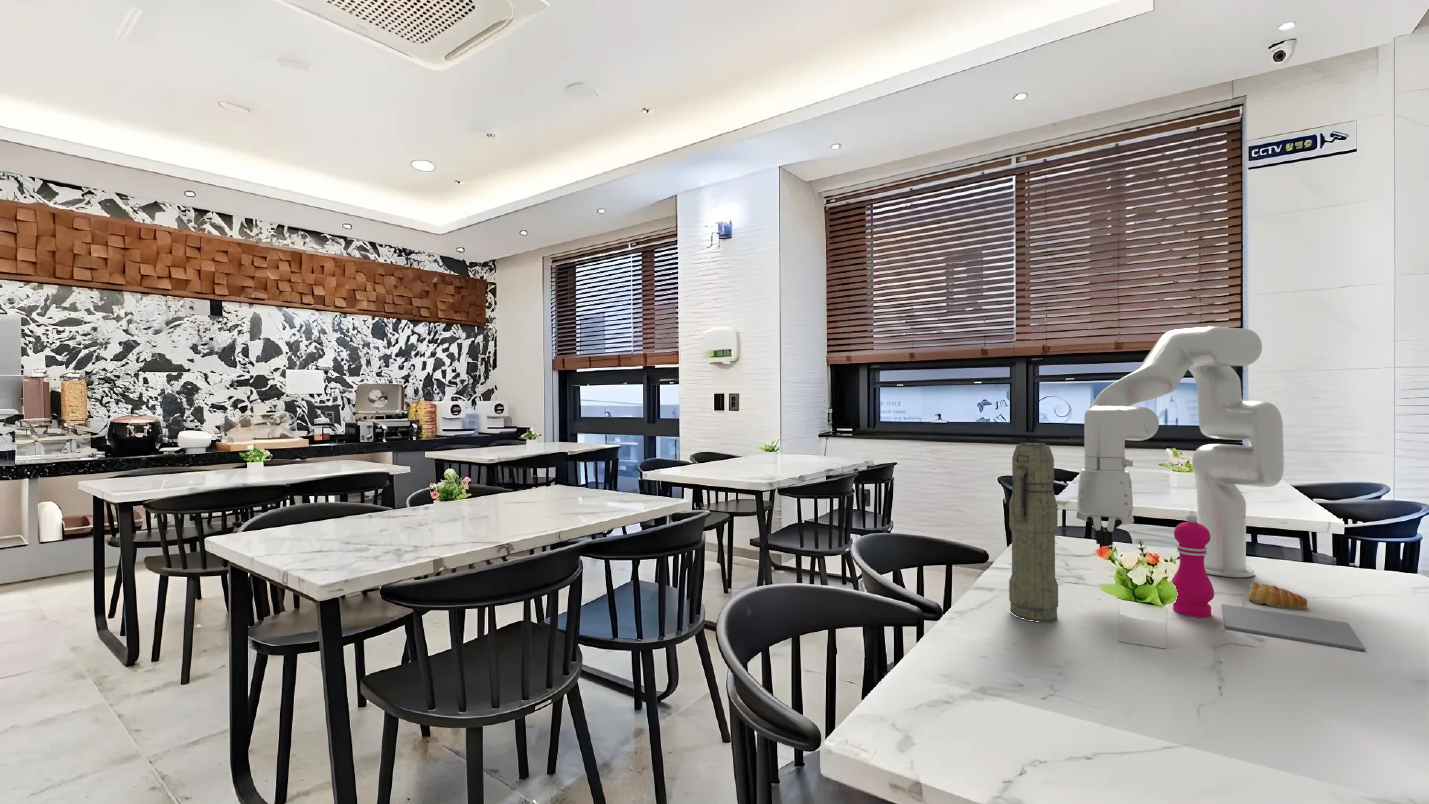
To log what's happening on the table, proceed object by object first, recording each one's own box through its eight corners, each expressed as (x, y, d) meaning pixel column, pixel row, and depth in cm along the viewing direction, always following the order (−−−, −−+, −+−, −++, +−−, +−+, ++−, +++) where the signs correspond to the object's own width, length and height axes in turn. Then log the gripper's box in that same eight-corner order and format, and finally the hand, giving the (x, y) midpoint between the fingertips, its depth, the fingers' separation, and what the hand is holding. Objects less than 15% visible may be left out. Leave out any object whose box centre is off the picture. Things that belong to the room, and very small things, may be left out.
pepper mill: (1174, 603, 136) (1174, 510, 136) (1217, 611, 131) (1217, 514, 131) (1166, 612, 131) (1166, 515, 131) (1210, 621, 126) (1211, 519, 126)
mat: (1221, 606, 134) (1221, 604, 134) (1347, 625, 123) (1347, 622, 123) (1224, 628, 122) (1224, 625, 122) (1365, 651, 111) (1365, 648, 111)
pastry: (1307, 605, 135) (1307, 587, 135) (1307, 614, 130) (1307, 595, 130) (1249, 595, 142) (1249, 578, 141) (1247, 603, 137) (1247, 586, 136)
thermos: (998, 616, 130) (997, 444, 129) (1023, 603, 138) (1022, 440, 137) (1044, 628, 123) (1043, 446, 123) (1067, 613, 131) (1067, 442, 131)
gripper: (1146, 464, 138) (1146, 549, 139) (1068, 460, 147) (1068, 540, 148) (1144, 468, 132) (1144, 556, 133) (1063, 464, 141) (1063, 547, 142)
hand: (1104, 548), depth 140 cm, fingers closed
